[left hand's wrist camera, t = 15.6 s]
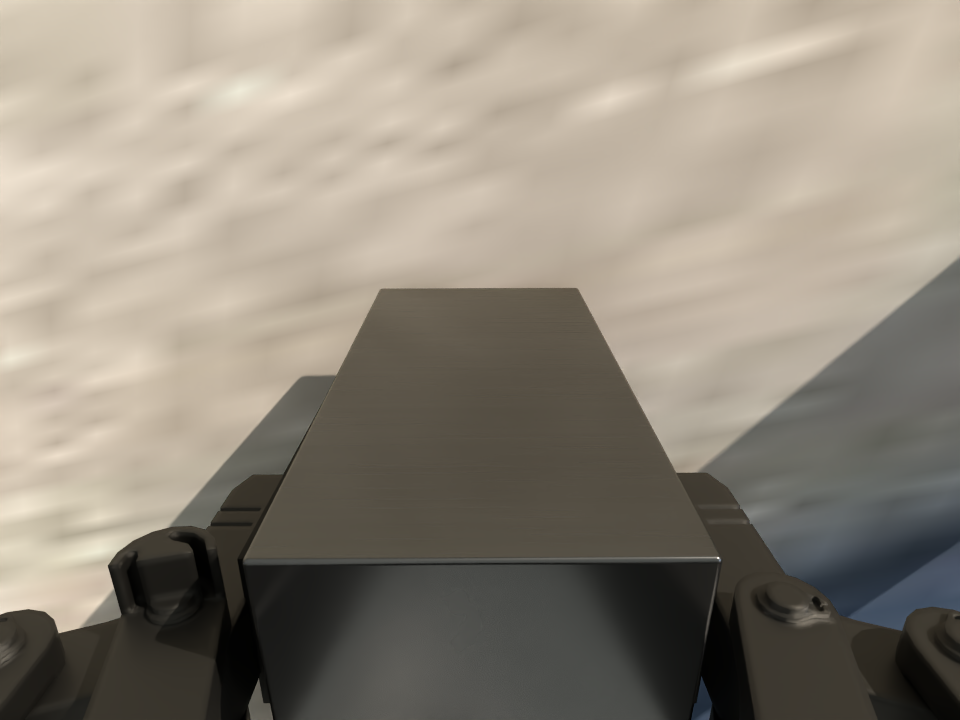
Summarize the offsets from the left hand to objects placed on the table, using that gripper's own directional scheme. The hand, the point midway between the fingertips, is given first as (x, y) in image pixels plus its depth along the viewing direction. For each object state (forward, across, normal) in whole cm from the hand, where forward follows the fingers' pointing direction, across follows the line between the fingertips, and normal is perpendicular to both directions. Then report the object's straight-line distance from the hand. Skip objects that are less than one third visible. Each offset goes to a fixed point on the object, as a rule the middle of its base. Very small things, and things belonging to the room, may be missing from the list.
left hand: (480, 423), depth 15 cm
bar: (+2, 0, -10) cm, 10 cm away
